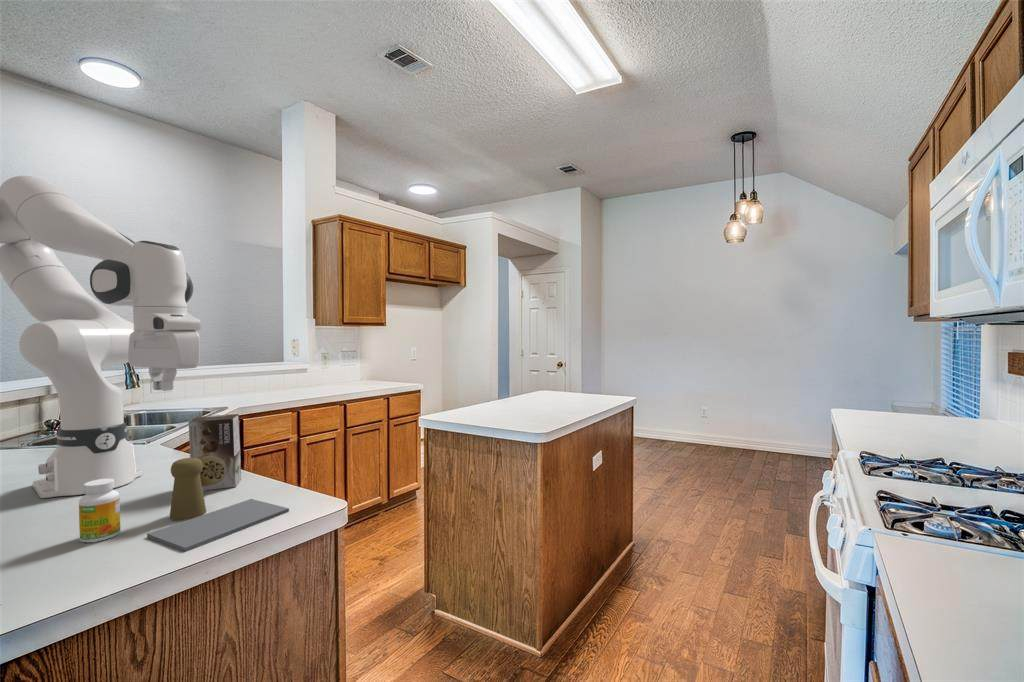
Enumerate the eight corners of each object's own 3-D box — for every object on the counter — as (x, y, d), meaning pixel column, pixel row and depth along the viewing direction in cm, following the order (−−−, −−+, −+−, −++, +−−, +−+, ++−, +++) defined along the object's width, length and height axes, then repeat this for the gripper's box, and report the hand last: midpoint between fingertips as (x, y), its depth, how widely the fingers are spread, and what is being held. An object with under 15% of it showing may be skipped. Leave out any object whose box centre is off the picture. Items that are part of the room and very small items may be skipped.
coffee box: (242, 479, 114) (240, 413, 114) (235, 487, 108) (234, 417, 108) (198, 483, 111) (197, 415, 111) (189, 492, 105) (187, 420, 105)
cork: (187, 521, 89) (186, 463, 88) (161, 519, 90) (159, 462, 90) (214, 509, 94) (212, 455, 94) (188, 507, 96) (187, 454, 95)
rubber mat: (147, 537, 82) (147, 533, 82) (251, 501, 99) (251, 498, 99) (185, 551, 76) (185, 547, 76) (289, 511, 93) (288, 508, 93)
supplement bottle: (74, 546, 79) (73, 488, 79) (85, 534, 84) (84, 480, 83) (115, 539, 81) (114, 483, 81) (124, 528, 86) (122, 475, 86)
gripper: (117, 322, 97) (119, 389, 97) (170, 320, 88) (172, 394, 88) (152, 323, 103) (154, 386, 103) (206, 321, 93) (207, 390, 93)
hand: (163, 390), depth 95 cm, fingers closed
